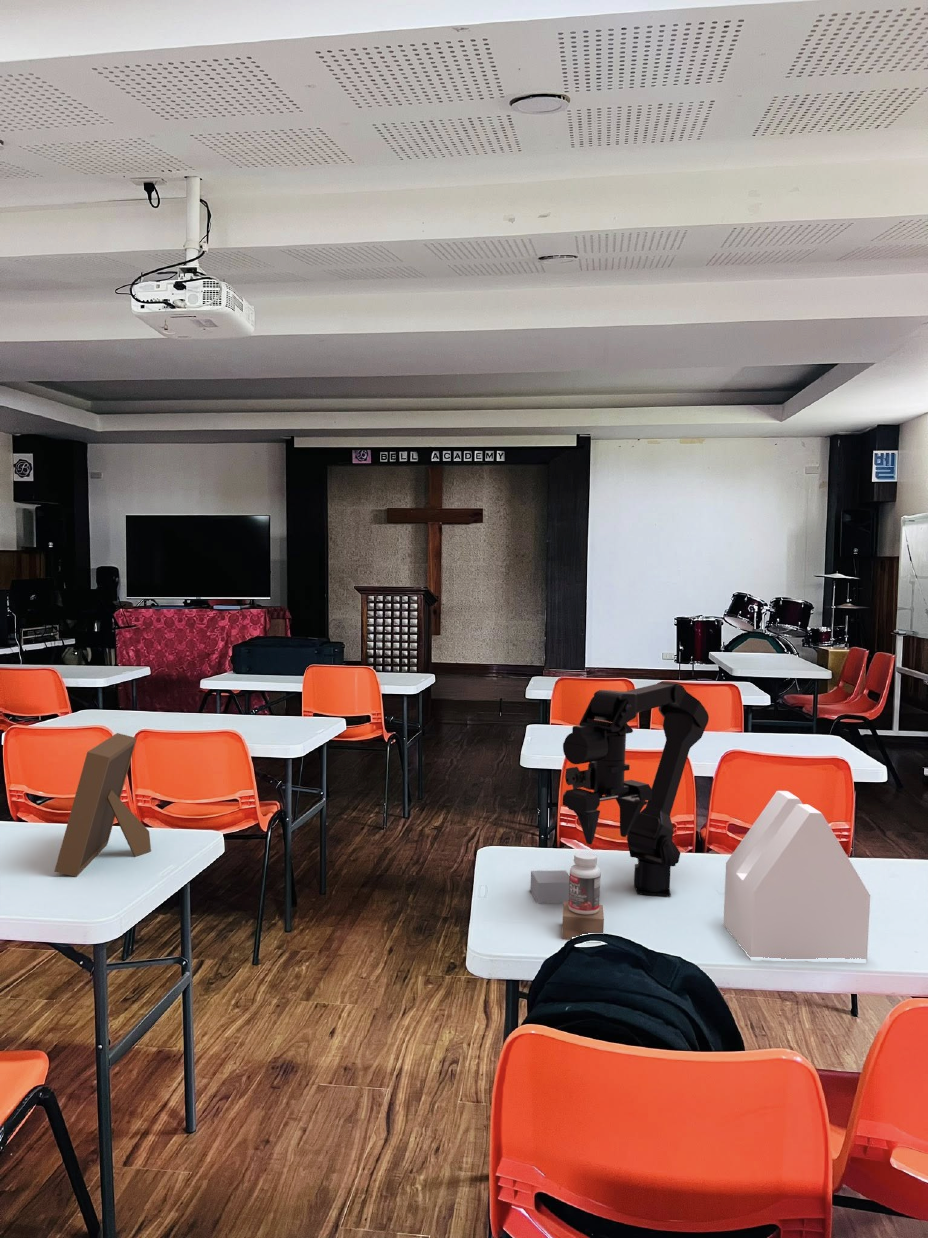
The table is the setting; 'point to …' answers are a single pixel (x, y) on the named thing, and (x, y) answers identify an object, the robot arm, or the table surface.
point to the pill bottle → (584, 884)
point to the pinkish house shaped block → (795, 888)
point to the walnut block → (581, 922)
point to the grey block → (550, 886)
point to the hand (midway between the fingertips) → (606, 840)
